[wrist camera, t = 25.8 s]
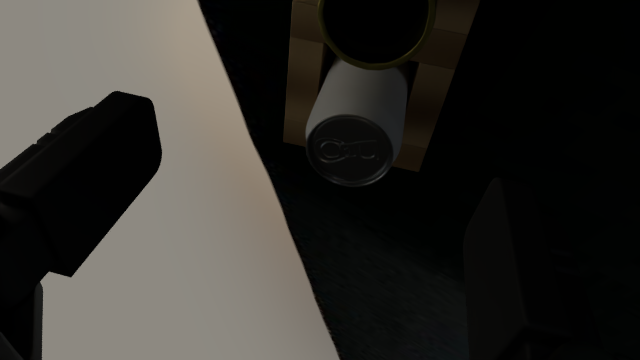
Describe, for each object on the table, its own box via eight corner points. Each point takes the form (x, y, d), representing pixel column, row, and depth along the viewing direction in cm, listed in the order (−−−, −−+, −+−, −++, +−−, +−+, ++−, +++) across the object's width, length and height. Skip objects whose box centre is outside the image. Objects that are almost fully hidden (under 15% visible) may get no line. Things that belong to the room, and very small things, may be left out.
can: (327, 37, 34) (289, 111, 25) (408, 29, 32) (397, 105, 23) (339, 106, 38) (309, 192, 29) (411, 102, 36) (403, 192, 27)
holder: (321, -181, 25) (304, -183, 22) (519, -151, 24) (533, -148, 21) (296, 115, 39) (283, 141, 36) (420, 142, 38) (418, 172, 35)
